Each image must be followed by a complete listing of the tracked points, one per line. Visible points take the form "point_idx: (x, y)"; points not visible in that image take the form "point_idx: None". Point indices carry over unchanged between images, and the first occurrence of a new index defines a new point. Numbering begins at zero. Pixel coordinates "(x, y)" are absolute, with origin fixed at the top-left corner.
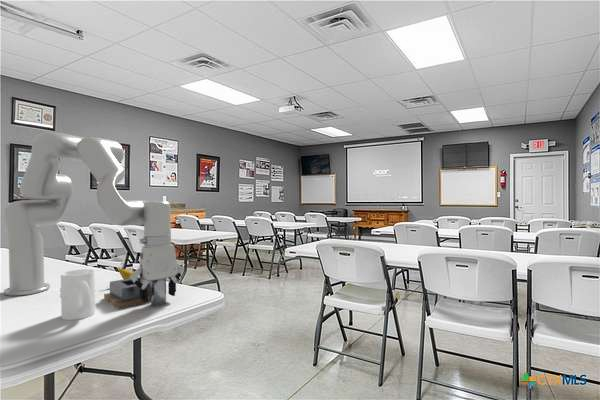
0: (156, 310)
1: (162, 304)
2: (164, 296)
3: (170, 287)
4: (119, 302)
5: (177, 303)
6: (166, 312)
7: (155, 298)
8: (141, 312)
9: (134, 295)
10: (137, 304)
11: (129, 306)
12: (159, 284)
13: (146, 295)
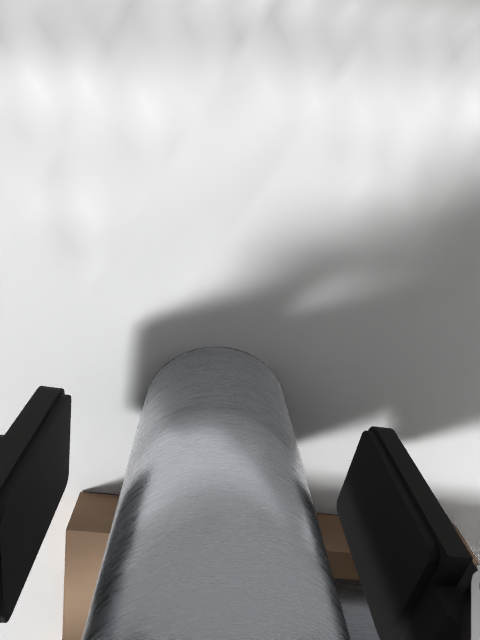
0: (343, 271)
1: (219, 352)
2: (186, 402)
3: (33, 514)
4: None
5: (74, 285)
6: (335, 116)
7: (287, 424)
8: (445, 336)
9: (346, 614)
10: (326, 517)
11: None
12: (277, 558)
13: (413, 477)
